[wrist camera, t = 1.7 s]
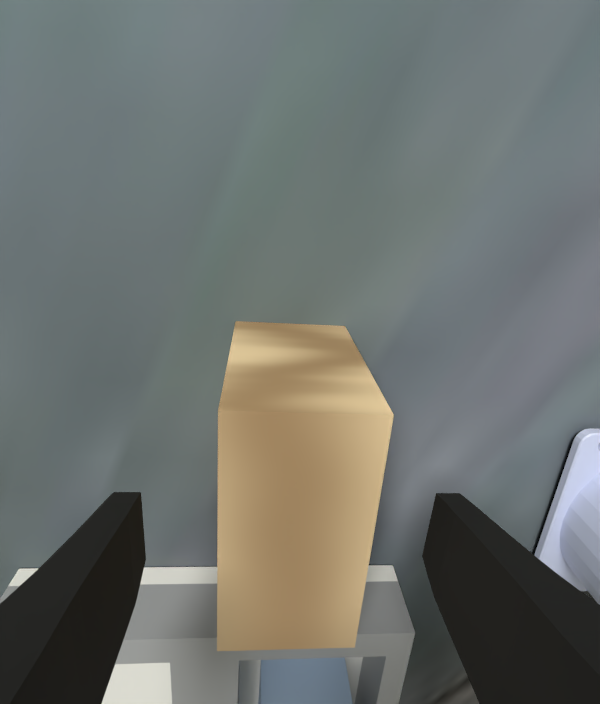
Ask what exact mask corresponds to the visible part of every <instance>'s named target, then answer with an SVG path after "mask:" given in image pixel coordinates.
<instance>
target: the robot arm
mask: <svg viewBox="0 0 600 704" xmlns="http://www.w3.org/2000/svg"><path fill="white" fill-rule="evenodd" d="M599 443H600V429H585V430H583V431H581V432H579V433H578V434H577V435H576V437H575V439H574V441H573V444H572V447H571V449H570V452H569V455H568V458H567V461H566V464H565V467H564V470H563V473H562V476H561V479H560V481H559V484H558V487H557V490H556V493H555V496H554V499H553V502H552V505H551V508H550V511H549V513H548V516H547V519H546V522H545V525H544V528H543V531H542V534H541V537H540V540H539V543H538V546H537V548H536V551H535V554H534V555H533V554H532V553H531V552H529V551H528V550H527V549H526V548H524V547H523V546H522V545H521V544H520V543H518V542H517V541H516V540H515V539H514V538H512V537H511V536H510V535H509V534H508V533H506V532H505V531H504V530H503V529H502V528H501V527H499V526H498V525H497V524H496V523H495V522H494V521H492V520H491V519H490V518H489V517H488V516H487V515H485V514H484V513H483V512H482V511H481V510H479V509H478V508H477V507H476V506H475V505H473V504H472V503H471V502H470V501H469V500H467V499H466V498H465V497H464V496H462V495H461V494H460V493H436V497H435V502H434V506H433V510H432V515H431V519H430V524H429V528H428V533H427V537H426V542H425V546H424V550H423V555H422V557H423V560H424V564H425V567H426V571H427V575H428V578H429V581H430V585H431V588H432V591H433V594H434V598H435V600H436V602H437V605H438V607H439V610H440V612H441V614H442V617H443V619H444V622H445V624H446V626H447V629H448V631H449V633H450V636H451V638H452V640H453V643H454V645H455V647H456V650H457V652H458V654H459V657H460V659H461V661H462V664H463V666H464V668H465V671H466V673H467V675H468V678H469V680H470V682H471V685H472V687H473V689H474V692H475V694H476V696H477V699H478V701H479V704H600V444H599ZM145 560H146V556H145V542H144V528H143V515H142V501H141V492H114V493H113V494H112V495H110V496H109V497H108V498H107V499H106V500H105V501H104V503H103V504H102V505H101V506H100V507H99V508H98V509H97V510H96V511H95V512H94V513H93V514H92V515H91V516H90V517H89V518H88V520H87V521H86V522H85V523H84V524H83V525H82V526H81V527H80V528H79V529H78V530H77V531H76V532H75V533H74V534H73V535H72V536H71V537H70V538H69V539H68V540H67V541H66V542H65V543H64V544H63V545H62V546H61V547H60V548H59V549H58V550H57V551H56V552H55V553H54V554H53V555H52V556H51V557H50V558H49V559H48V560H47V561H46V562H45V563H44V564H43V565H42V566H41V567H40V568H39V569H38V570H37V571H36V572H34V573H33V574H32V575H31V576H30V577H29V578H28V579H27V580H26V581H25V582H23V583H22V584H21V585H20V586H19V587H18V588H17V589H16V590H15V591H14V592H13V593H11V594H10V595H9V596H8V597H7V598H6V599H5V600H4V601H3V602H1V603H0V704H102V701H103V698H104V695H105V692H106V689H107V686H108V683H109V680H110V678H111V675H112V672H113V669H114V666H115V663H116V660H117V657H118V654H119V651H120V649H121V646H122V643H123V640H124V637H125V634H126V631H127V628H128V625H129V622H130V619H131V616H132V613H133V610H134V607H135V604H136V600H137V596H138V592H139V587H140V583H141V578H142V574H143V569H144V565H145ZM581 591H588V592H589V593H590V594H591V596H592V597H593V598H594V599H595V601H596V602H597V603H596V602H595V601H593V600H592V599H591V598H589V597H588V596H586V595H585V594H584V593H582V592H581Z"/></svg>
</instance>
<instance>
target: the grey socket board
mask: <svg viewBox="0 0 600 704" xmlns="http://www.w3.org/2000/svg"><path fill="white" fill-rule="evenodd" d="M38 569H39V568H30V569H19V570H18V571H17V573H16V575H15V576H14V578H13V579H12V581H11V583H10V584H9V586H8V587H7V589H6V591H5V592H4V594H3V595H2V597H1V599H0V603H1V602H3V601H4V600H5V599H6V598H7V597H8V596H9V595H10V594H11V593H13V592H14V591H15V590H16V589H17V588H18V587H19V586H20V585H21V584H22V583H23V582H25V581H26V580H27V579H28V578H29V577H30V576H31V575H32V574H33V573H34V572H36V571H37V570H38ZM414 636H415V631H414V628H413V625H412V622H411V619H410V616H409V613H408V610H407V607H406V604H405V601H404V598H403V595H402V592H401V589H400V586H399V583H398V580H397V577H396V574H395V571H394V568H393V565H370V566H368V572H367V578H366V584H365V590H364V596H363V602H362V608H361V614H360V619H359V625H358V631H357V637H356V643H355V648H320V649H283V650H246V651H217V567H144V569H143V574H142V578H141V583H140V587H139V592H138V596H137V600H136V604H135V607H134V610H133V613H132V616H131V619H130V622H129V625H128V628H127V631H126V634H125V637H124V640H123V643H122V646H121V649H120V651H119V654H118V657H117V660H116V663H115V666H114V669H113V672H112V675H111V678H110V680H109V683H108V686H107V689H106V692H105V695H104V698H103V701H102V704H258V700H259V683H260V665H261V660H276V659H310V658H344V657H345V662H346V667H347V673H348V679H349V685H350V691H351V697H352V703H353V704H399V700H400V696H401V691H402V687H403V683H404V679H405V674H406V670H407V666H408V662H409V657H410V653H411V649H412V645H413V640H414Z"/></svg>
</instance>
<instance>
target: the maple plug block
mask: <svg viewBox="0 0 600 704" xmlns="http://www.w3.org/2000/svg"><path fill="white" fill-rule="evenodd" d="M393 417H394V415H393V413H392V411H391V409H390V407H389V405H388V404H387V402H386V400H385V398H384V396H383V395H382V393H381V391H380V389H379V387H378V385H377V384H376V382H375V380H374V378H373V376H372V375H371V373H370V371H369V369H368V367H367V365H366V364H365V362H364V360H363V358H362V356H361V355H360V353H359V351H358V349H357V347H356V345H355V344H354V342H353V340H352V338H351V336H350V335H349V333H348V331H347V329H346V327H345V326H329V325H306V324H284V323H261V322H239V321H236V322H235V328H234V333H233V338H232V343H231V348H230V353H229V358H228V363H227V368H226V373H225V378H224V383H223V389H222V394H221V399H220V404H219V409H218V550H217V651H246V650H283V649H320V648H355V643H356V637H357V631H358V625H359V619H360V614H361V608H362V602H363V596H364V590H365V584H366V578H367V572H368V566H369V560H370V554H371V548H372V542H373V536H374V530H375V524H376V518H377V512H378V506H379V500H380V494H381V488H382V482H383V476H384V471H385V465H386V459H387V453H388V447H389V441H390V435H391V429H392V423H393Z"/></svg>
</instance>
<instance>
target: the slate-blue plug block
mask: <svg viewBox="0 0 600 704" xmlns="http://www.w3.org/2000/svg"><path fill="white" fill-rule="evenodd" d="M258 704H353V703H352V697H351V691H350V685H349V679H348V673H347V667H346V662H345V657H344V658H310V659H276V660H261V665H260V683H259V700H258Z"/></svg>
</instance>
